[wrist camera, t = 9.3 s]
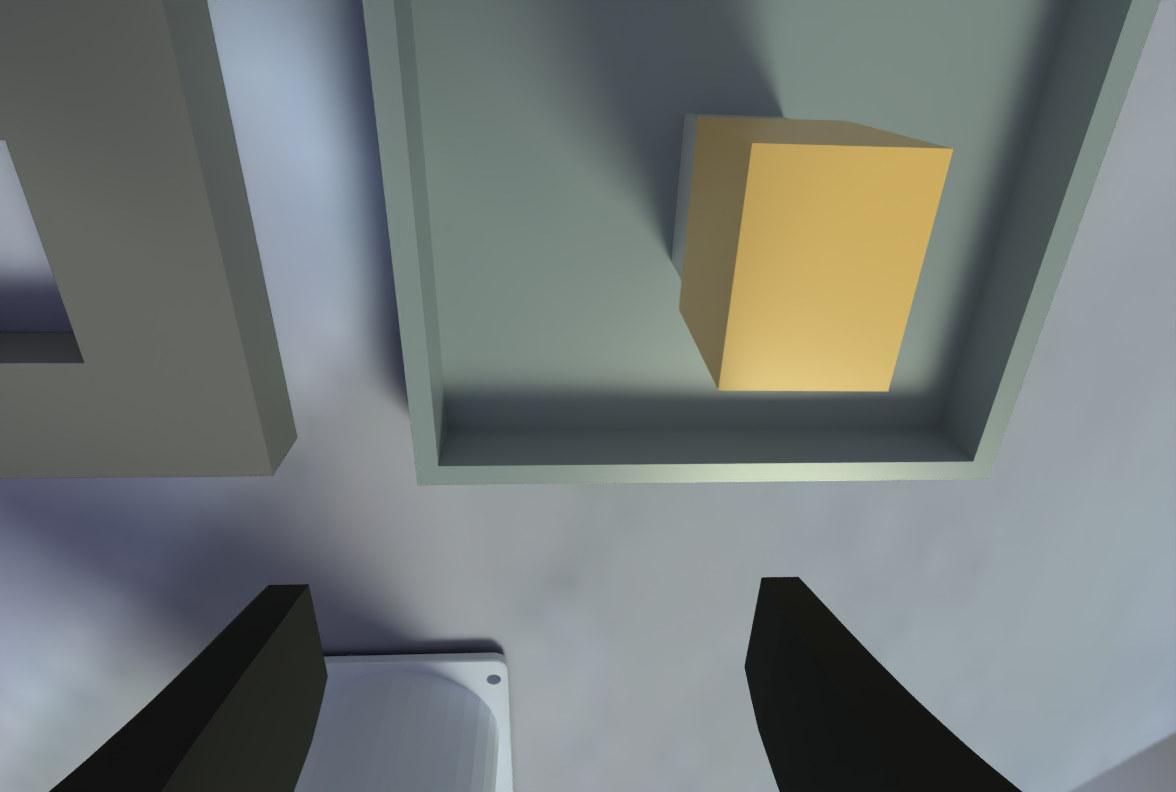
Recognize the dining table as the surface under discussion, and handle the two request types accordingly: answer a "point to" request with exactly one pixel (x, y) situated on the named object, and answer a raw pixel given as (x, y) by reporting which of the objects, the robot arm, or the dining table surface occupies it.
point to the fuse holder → (135, 252)
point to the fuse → (801, 248)
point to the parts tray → (648, 207)
